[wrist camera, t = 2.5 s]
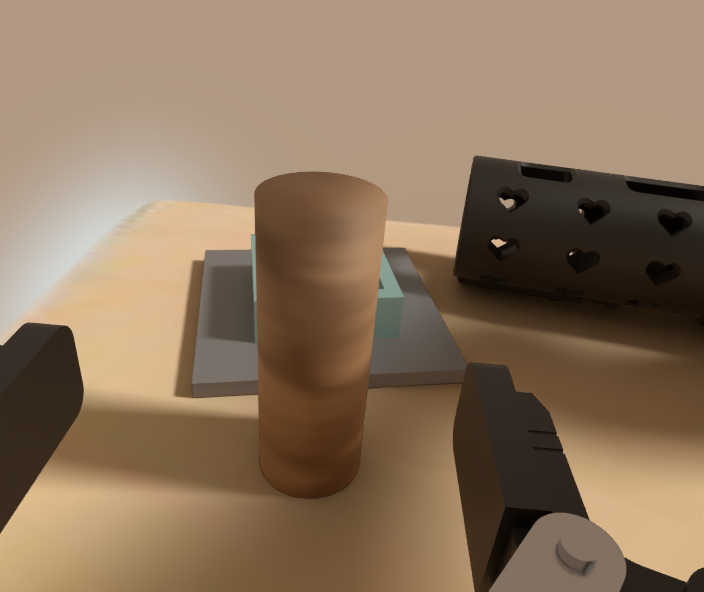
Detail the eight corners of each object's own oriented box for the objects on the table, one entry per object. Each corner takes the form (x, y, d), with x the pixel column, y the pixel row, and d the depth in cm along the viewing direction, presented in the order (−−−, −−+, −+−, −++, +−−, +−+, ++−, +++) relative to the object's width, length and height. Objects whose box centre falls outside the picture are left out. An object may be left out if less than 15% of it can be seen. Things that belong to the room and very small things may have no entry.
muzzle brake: (455, 255, 50) (477, 136, 45) (811, 312, 46) (882, 188, 40) (446, 312, 42) (471, 175, 37) (876, 388, 38) (976, 245, 32)
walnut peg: (350, 419, 32) (373, 172, 24) (368, 493, 27) (401, 221, 20) (258, 425, 31) (253, 171, 24) (261, 502, 27) (256, 222, 19)
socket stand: (403, 258, 48) (409, 214, 46) (466, 382, 35) (478, 327, 33) (206, 261, 46) (203, 214, 44) (193, 397, 32) (187, 339, 30)
